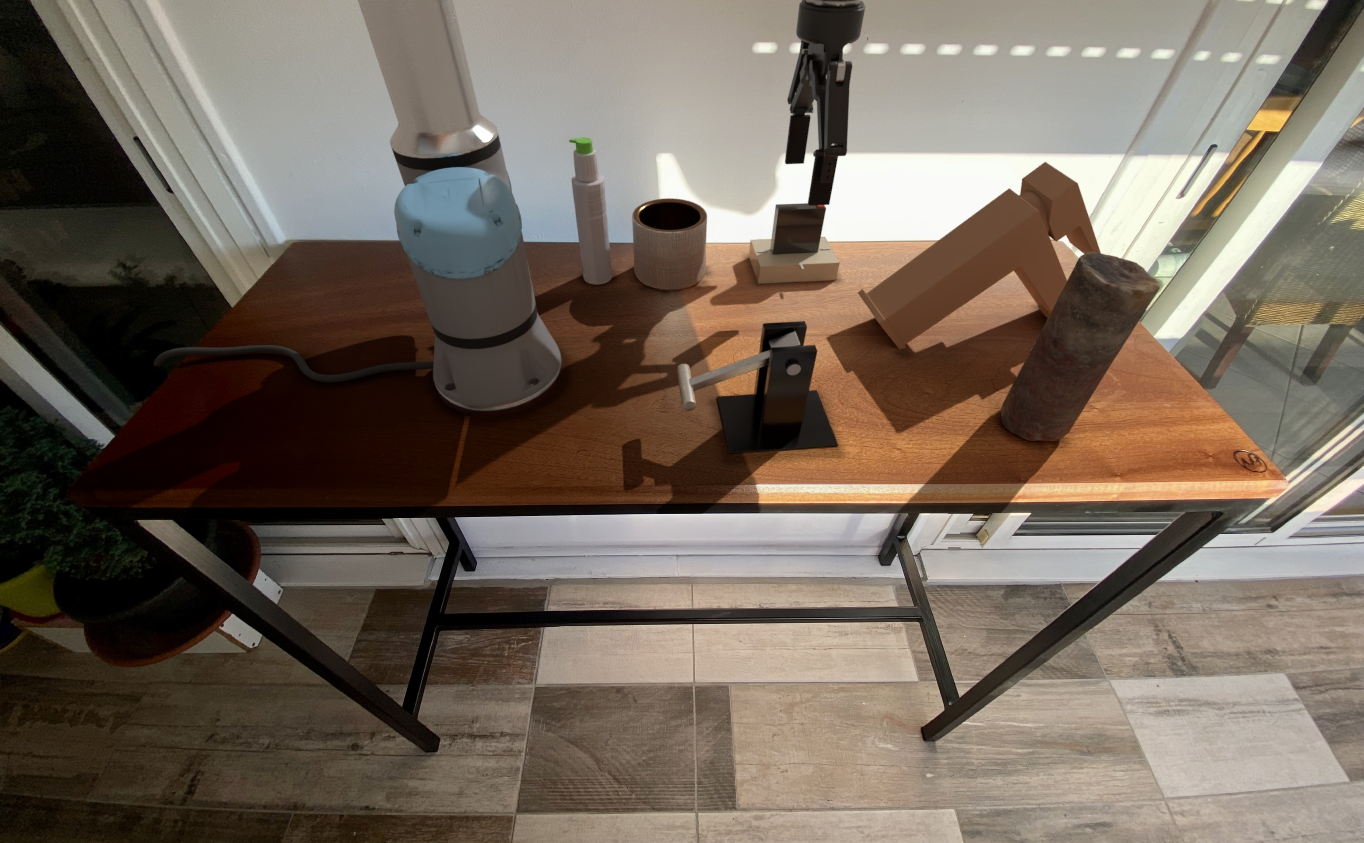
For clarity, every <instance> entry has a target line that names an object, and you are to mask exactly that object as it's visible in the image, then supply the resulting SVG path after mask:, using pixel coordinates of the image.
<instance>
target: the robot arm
mask: <svg viewBox="0 0 1364 843" xmlns="http://www.w3.org/2000/svg"><path fill="white" fill-rule="evenodd" d="M357 2H358V5H359V8H360V11H361V14H362V17H363V20H364V24H365V26H366V29H367V32H368V36H369V38H370V41H371V44H372V48H373V50H374V53H375V56H376V60H377V63H378V66H379V68H380V72H381V74H382V78H383V81H384V84H385V86H386V89H387V94H388V96H389V99H390V102H391V105H392V108H393V110H394V114H395V117H396V120H397V122H398V123H397V127H396V128H395V130H394V132H393V134H391V138H390V140H389V144H390V147H391V151H392V153H393V157H394V159H395V163H396V165H397V168H398V170H399V173H400V176H401V178H402V179H401V180H402V182H403V185H404V187H403V188H402V189H401V191H400V192H399V193H398V195H397V196H396V199H395V203H394V209H393V210H394V211H393V213H394V214H393V215H394V220H395V223H396V225H395V226H396V234H397V237H398V238H397V239H398V241H399V243H400V245H401V246H402V248H403V252H404V253H405V254H406V257H407V260H408V262H409V265H410V268H411V271H412V274H413V277H414V280H415V282H416V285H417V289H418V291H419V293H420V297H421V299H422V302H423V305H424V308H425V310H426V314H427V316H428V318H429V319H428V320H429V322H430V325H431V328H432V330H433V333H434V345H433V346H434V347H433V348H434V349H433V360H430V361H429V360H427V361H411V362H410V361H409V362H393V363H385V364H379V365H375V366H370V367H365V368H362V369H359V370H355V371H351V372H346V373H341V374H323V373H318V372H315V371H313V370H312V369H311V368H310V367H309V365H308V364H307V362H306V361H305V359H304V357H303V356H301V354H300V353H298V352H297V351H295V350H293V349H292V348H290V347H287V346H281V345H271V344H261V345H260V344H259V345H243V346H230V347H229V346H228V347H203V346H202V347H201V346H200V347H199V346H187V347H175V348H172V349H169V350H165V351H163V352H161V353H160V354H159V355H158V356H157V357H156V358H155V359H154V361H153V366H154V367H160V366H162V365H164V364H165V363H166V362H167V361H168V360H170V359H171V358H172V359H173V358H175V357H180V356H189V355H190V356H191V355H193V356H194V355H195V356H196V355H198V356H199V355H201V356H229V355H243V354H244V355H245V354H258V353H268V354H269V353H270V354H272V353H273V354H278V355H279V354H281V355H285V356H287V357H290V358H291V359H292V360H293V361H294V362H295V363H296V366H298V368H299V370H300V371H301V373H302V374H303V375H304V376H306V377H307V378H309V379H311V380H312V381H314V382H319V383H325V384H326V383H329V384H333V383H343V382H348V381H353V380H357V379H361V378H365V377H369V376H372V375H376V374H377V375H378V374H381V373H387V372H397V371H415V370H418V371H419V370H432V379H433V383H434V385H435V387H436V391H437V393H438V396H439V398H440V399H441V401H442V402H443V403H444V404H445V405H446V406H447V407H448V408H450V409H451V410H452V411H455V412H458V413H460V414H463V415H466V416H470V417H471V415H472V413H480V414H489V413H490V414H491V413H501V412H506V411H510V410H514V409H518V408H520V407H523V406H526V405H528V404H531V403H532V402H535V401H536V400H538V399H540V398H541V397H542V396H544V395H545V394H546V393H548V392H549V391H550V390H551V389H552V388H553V387H554V386H555V385H556V384H557V382H558V380H559V378H560V377H561V374H562V369H563V359H562V352H561V350H560V348H559V346H558V344H557V342H556V341H555V339H554V338H553V336H552V334H551V333H550V331H549V330H548V328H547V327H546V325H545V323H544V321H543V320H542V319H541V317H540V315H539V312H538V308H537V303H536V298H535V293H534V288H533V281H532V276H531V272H530V267H529V266H530V265H529V262H528V261H529V260H528V257H527V251H526V247H525V241H524V235H523V231H522V229H523V222H522V215H521V211H520V208H519V206H518V204H517V203H516V199H515V196H514V194H513V187H512V183H511V178H510V175H509V172H508V170H507V166H506V162H505V156H504V153H503V148H502V144H501V140H500V136H499V131H498V127H497V125H496V124H495V123H493V121H491V120H489V118H487V117H485V116H484V115H483V114H482V113H481V112H480V109H479V105H478V104H479V103H478V101H477V97H476V92H475V87H474V83H473V80H472V75H471V70H470V67H469V62H468V59H467V54H466V50H465V46H464V40H463V37H462V33H461V28H460V25H459V20H458V16H457V12H456V7H455V4H454V0H357ZM865 11H866V5H865V3H864V1H862V0H801V2H799V4H798V13H797V20H796V21H797V22H796V30H795V34H796V36H797V38H798V39H799V40H800V47H799V53H798V57H797V61H796V64H795V68H794V72H793V76H792V80H791V85H790V88H789V92H788V96H787V105H790V106H789V113H790V114H791V115H790V117H789V123H788V134H787V141H786V150H785V158H784V163H785V165H801V164H802V165H803V164H805V160H806V151H807V144H808V138H809V131H810V124H811V123H810V122H811V118H812V117H811V115H810V114H813V113H814V112H815V111H814V101H816V114H817V115H816V116H817V139H818V140H817V141H818V148H817V149H815V150H814V151H813V152H812V155H813V158H814V162H813V167H812V174H811V179H810V187H809V193H808V198H807V203H808V204H809V206H813V205H825V206H828V205H830V202H831V197H832V192H833V186H834V182H835V181H834V180H835V174H836V170H837V164H838V159H839V157H845V156H846V155H847V153H848V135H849V134H848V133H849V110H850V109H849V107H850V106H849V105H850V85H851V78H852V70H853V62H852V61H851V60H847V61H845V60H844V48H845V47H846V46H847V45H848V44H853V43H854V42H857V41H858V40H859V38H860V37H861V33H862V28H863V22H864V18H865V17H864V16H865Z"/></svg>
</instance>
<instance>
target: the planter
mask: <svg viewBox="0 0 1364 843" xmlns="http://www.w3.org/2000/svg"><path fill="white" fill-rule="evenodd" d="M631 221H632V244H633V245H632V246H633V248H632V250H633V270H634V274H635V277H636V278H637V280H638V281H639V282H640V283H642V284H643V285H645V286H647V287H650V288H652V289H655V290H659V291H664V292H665V291H666V292H667V291H668V292H669V291H671V292H674V291H682V290H685V289H688V288H691V287H693V286H695V285H697V284H698V283H699V282H701V281H702V280H703V279H704V276H705V274H706V269H707V268H706V267H707V266H706V265H707V229H708V213H707V211H706V210H705V208H704V207H702V206H701V205H700V204H697V203H695V202H694V201H691V200H686V199H681V198H671V197H670V198H668V197H667V198H657V199H652V200H649V201H646V202H643V203H641V204H639V205H638V206H637V207H636V208H634V210H633V212H632V214H631Z"/></svg>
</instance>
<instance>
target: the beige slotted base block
mask: <svg viewBox="0 0 1364 843" xmlns="http://www.w3.org/2000/svg"><path fill="white" fill-rule="evenodd" d="M771 239H772V238H762V239H761V238H757V239H750V240H749V250H748V258H749V261H750V265H751V267H752V270H753V273H754V276H755V278H756V281H757V283H758V284H759V285H760V284H777V283H778V284H784V283H785V284H786V283H804V282H823V281H837V277H838V272H839V267H840V261H839V258H838V257H837V255H836V253H835V251H834V250H833V249H832V246H831V244H830V243H829V241H828V239H827V237H826V236H821V238H820V244H819V249H818V252H814V253H791V254H772V251H771V249H770V247H771Z"/></svg>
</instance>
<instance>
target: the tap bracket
mask: <svg viewBox="0 0 1364 843" xmlns="http://www.w3.org/2000/svg"><path fill="white" fill-rule="evenodd" d="M807 330H808V325H807V322H806V320H799V321H797V320H796V321H781V322H780V321H779V322H778V321H777V322H763V323H762V327H761V335H760V343H759V351H758V354H760V353H762V352H765V351H768V350H771V351H770V358H769V365H767V366H764V367H761V368H758V369H756V374H755V382H754V390H753V393H750V394H749V393H748V394H734V395H718V396H717V397H716V400H717V404H718V407H719V411H720V412H719V413H720V417H721V422H722V427H723V430H724V431H723V432H724V437H725V441H726V445H727V450H728V454H729V455H736V454H737V455H738V454H751V453H766V452H779V451H780V452H781V451H792V450H794V451H795V450H808V449H819V448H821V449H823V448H835V447H839V443H838V440H837V438H836V435H835V432H834V430H833V428H832V425H831V423H830V420H829V417H828V415H827V413H826V410H825V408H824V405H823V402H822V399H821V397H820V395H819V392H818V390H817V389H814V390H813V389H811V390H810V388H811V383H812V379H813V374H814V368H815V364H816V359H817V355H818V349H817V347H816V345H815V344H810V345H809V344H807V345H804V344H805V339H806V334H807ZM794 331H795V332H796V335H797V337H798V340H799V342H800V345H801V346H788V347H771V346H770V343H769V341H770V340H772V339H775V338H778V337H781V336H783V335H786V334H789V333H792V332H794Z"/></svg>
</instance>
